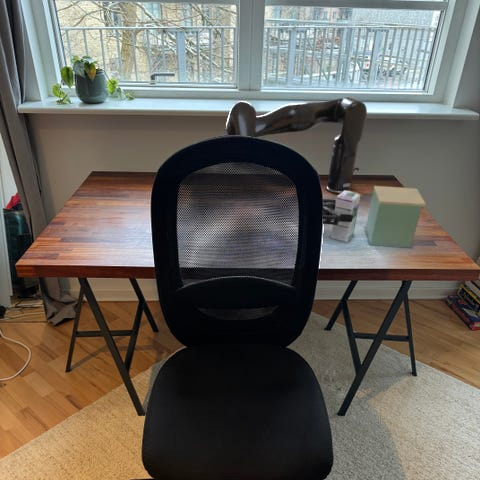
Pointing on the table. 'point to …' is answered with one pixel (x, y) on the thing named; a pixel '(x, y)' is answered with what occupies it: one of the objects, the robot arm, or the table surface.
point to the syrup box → (346, 205)
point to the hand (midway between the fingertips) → (351, 212)
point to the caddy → (391, 223)
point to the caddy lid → (399, 196)
